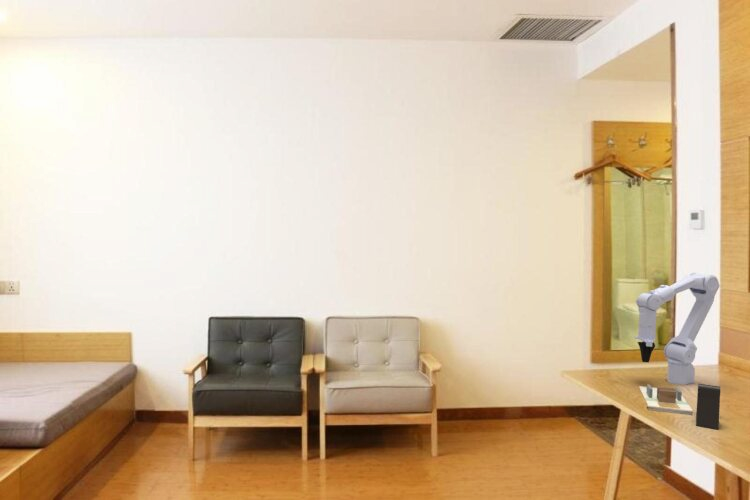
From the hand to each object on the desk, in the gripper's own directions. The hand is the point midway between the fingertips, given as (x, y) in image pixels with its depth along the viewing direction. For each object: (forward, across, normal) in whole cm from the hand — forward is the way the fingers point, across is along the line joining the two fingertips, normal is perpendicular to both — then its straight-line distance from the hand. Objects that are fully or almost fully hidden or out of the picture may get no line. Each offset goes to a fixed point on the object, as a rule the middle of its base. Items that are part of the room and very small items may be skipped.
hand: (645, 361), depth 215 cm
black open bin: (+10, +35, +13) cm, 38 cm away
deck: (+10, +16, +4) cm, 19 cm away
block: (+8, +19, +4) cm, 21 cm away
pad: (+10, +20, +4) cm, 23 cm away
